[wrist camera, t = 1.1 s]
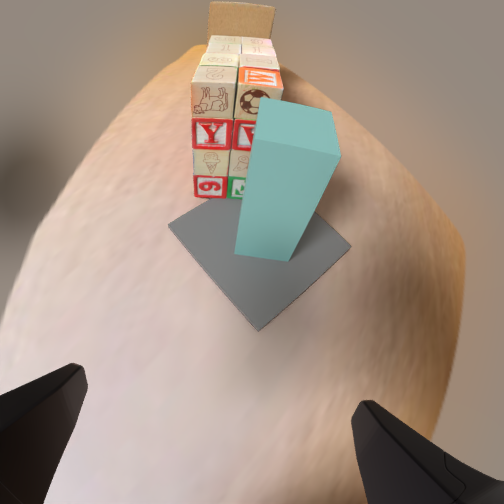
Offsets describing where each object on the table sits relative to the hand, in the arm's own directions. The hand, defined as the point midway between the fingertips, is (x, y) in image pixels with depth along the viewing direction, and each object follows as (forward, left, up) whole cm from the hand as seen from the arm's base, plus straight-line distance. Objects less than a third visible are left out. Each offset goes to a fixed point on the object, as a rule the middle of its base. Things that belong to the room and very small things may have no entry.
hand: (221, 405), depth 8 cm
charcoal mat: (+8, -12, -13) cm, 19 cm away
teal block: (+8, -12, -12) cm, 19 cm away
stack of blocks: (+21, -19, -12) cm, 31 cm away
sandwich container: (+35, -31, -13) cm, 49 cm away
